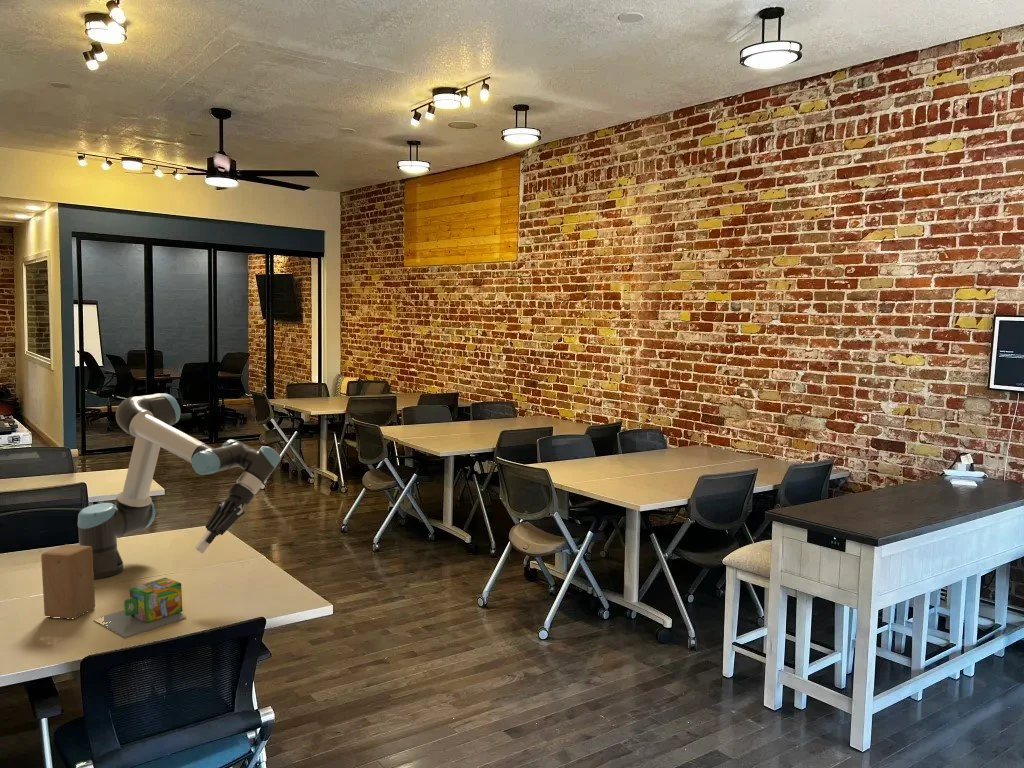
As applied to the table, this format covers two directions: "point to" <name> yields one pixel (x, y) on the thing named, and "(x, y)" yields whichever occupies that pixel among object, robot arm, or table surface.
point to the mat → (136, 623)
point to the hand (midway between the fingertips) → (198, 550)
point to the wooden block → (68, 581)
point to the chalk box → (154, 600)
